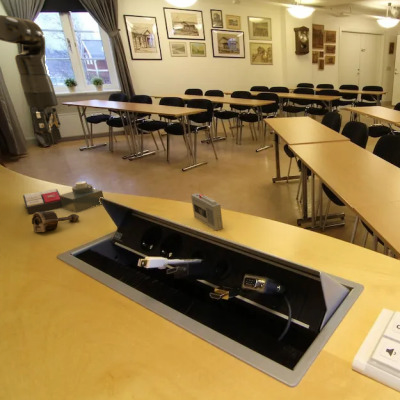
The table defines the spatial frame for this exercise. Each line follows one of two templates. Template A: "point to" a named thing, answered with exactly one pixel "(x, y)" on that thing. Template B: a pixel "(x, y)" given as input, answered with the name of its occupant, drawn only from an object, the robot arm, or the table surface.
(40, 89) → the robot arm
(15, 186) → the table surface
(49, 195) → the dark box with panels
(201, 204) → the cassette player
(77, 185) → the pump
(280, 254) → the table surface
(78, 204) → the olive block with knob
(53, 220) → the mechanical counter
